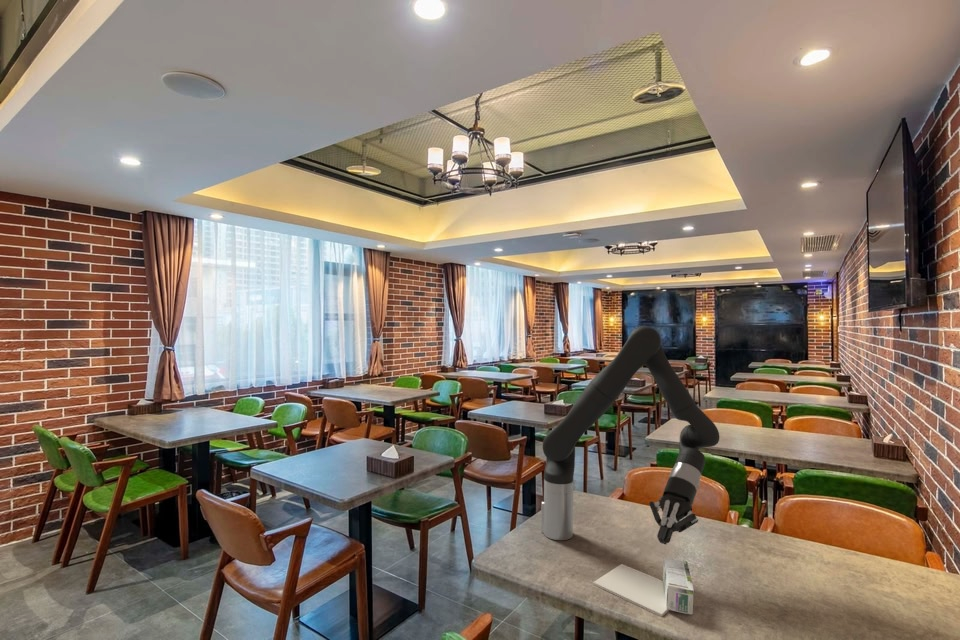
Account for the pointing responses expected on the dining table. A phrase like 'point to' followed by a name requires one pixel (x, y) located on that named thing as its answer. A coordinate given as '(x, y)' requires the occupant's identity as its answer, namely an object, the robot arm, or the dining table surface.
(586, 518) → the dining table surface
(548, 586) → the dining table surface
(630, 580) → the placemat
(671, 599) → the syrup box
